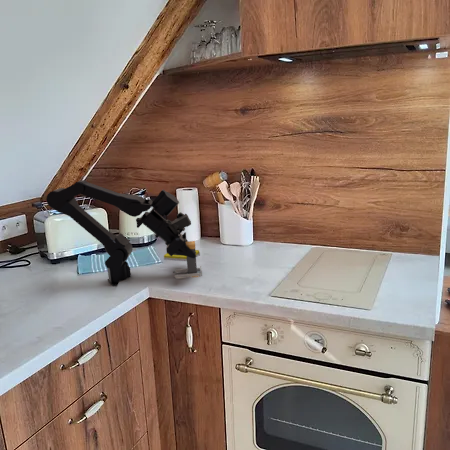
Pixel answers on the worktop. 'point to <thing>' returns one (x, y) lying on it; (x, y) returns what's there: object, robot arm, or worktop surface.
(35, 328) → the worktop surface
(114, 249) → the robot arm
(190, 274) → the breaker panel
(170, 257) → the emergency button
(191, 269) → the toggle
